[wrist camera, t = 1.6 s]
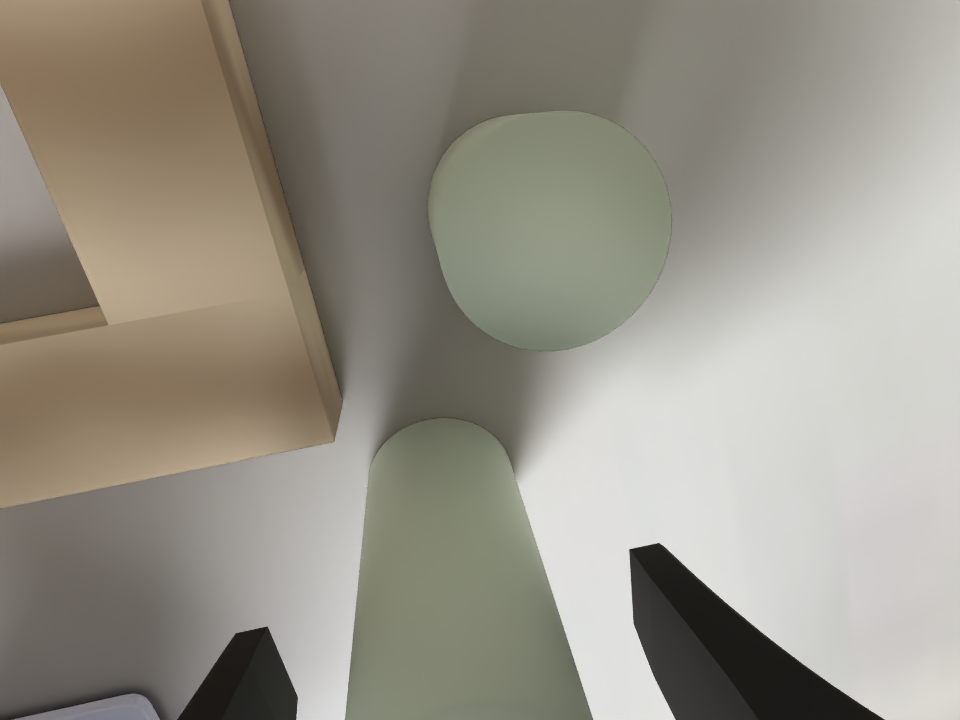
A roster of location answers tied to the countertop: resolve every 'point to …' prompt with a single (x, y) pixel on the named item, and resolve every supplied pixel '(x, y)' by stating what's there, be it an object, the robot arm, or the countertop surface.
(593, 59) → the countertop surface
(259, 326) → the hole board
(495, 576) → the tall peg
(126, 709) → the robot arm
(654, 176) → the short peg
